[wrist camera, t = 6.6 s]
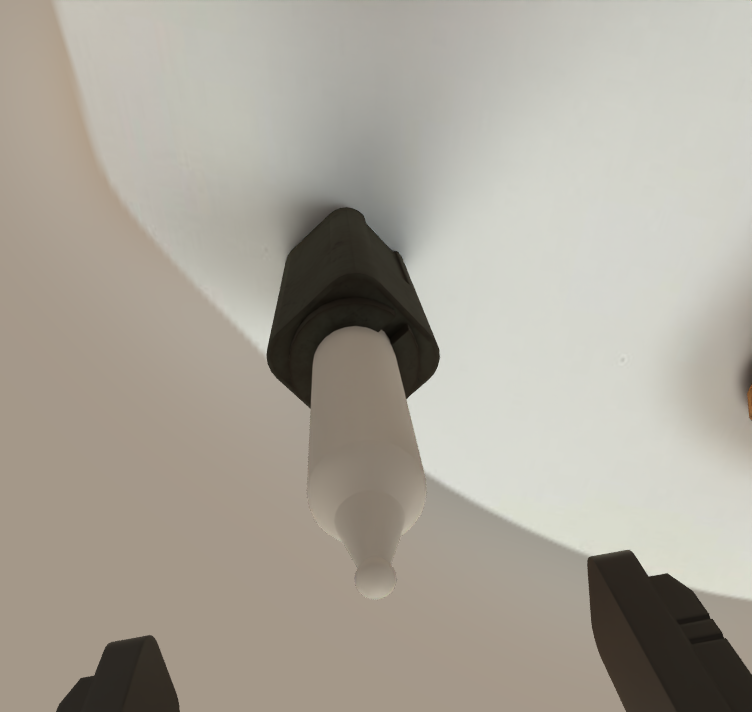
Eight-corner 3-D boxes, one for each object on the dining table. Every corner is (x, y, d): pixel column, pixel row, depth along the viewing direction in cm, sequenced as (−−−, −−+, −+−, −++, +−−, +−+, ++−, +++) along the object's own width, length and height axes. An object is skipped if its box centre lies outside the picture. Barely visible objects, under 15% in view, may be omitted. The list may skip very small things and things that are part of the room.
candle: (413, 268, 37) (556, 590, 14) (343, 331, 38) (370, 727, 15) (346, 197, 36) (385, 429, 13) (275, 265, 37) (190, 595, 14)
